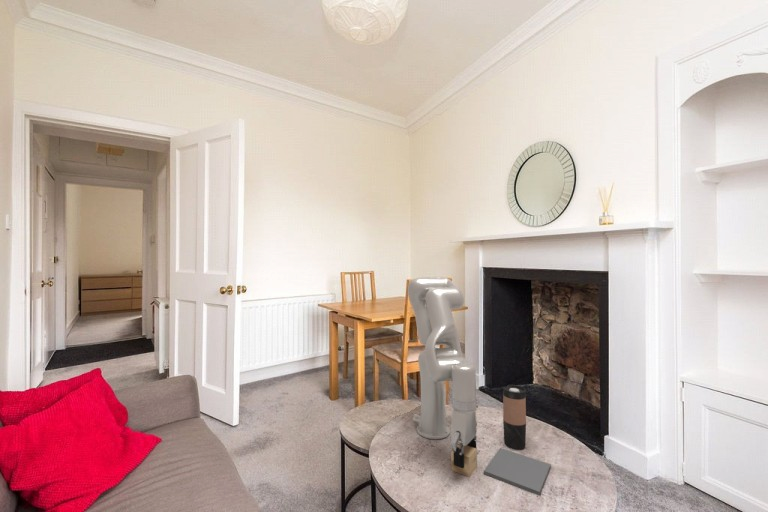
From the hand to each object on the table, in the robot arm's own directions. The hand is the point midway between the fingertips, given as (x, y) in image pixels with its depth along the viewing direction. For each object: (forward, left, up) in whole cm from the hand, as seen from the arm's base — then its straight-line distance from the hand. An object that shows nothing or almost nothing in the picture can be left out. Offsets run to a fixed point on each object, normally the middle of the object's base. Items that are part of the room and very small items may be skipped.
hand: (465, 459), depth 105 cm
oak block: (-1, +1, -4) cm, 4 cm away
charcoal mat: (+13, +10, -3) cm, 17 cm away
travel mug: (+8, +25, -4) cm, 26 cm away
